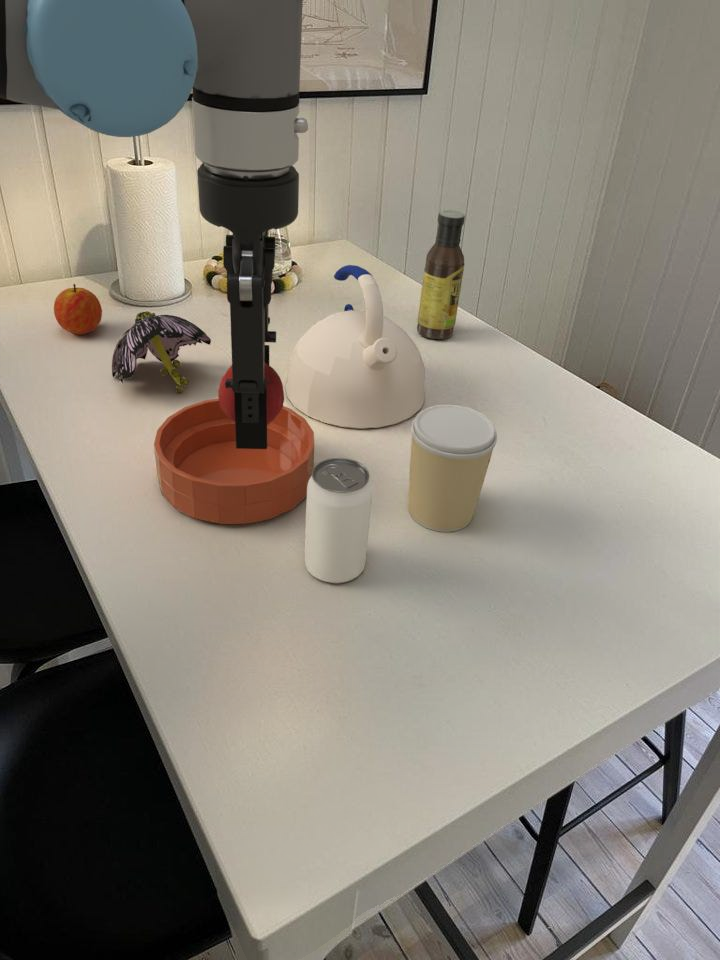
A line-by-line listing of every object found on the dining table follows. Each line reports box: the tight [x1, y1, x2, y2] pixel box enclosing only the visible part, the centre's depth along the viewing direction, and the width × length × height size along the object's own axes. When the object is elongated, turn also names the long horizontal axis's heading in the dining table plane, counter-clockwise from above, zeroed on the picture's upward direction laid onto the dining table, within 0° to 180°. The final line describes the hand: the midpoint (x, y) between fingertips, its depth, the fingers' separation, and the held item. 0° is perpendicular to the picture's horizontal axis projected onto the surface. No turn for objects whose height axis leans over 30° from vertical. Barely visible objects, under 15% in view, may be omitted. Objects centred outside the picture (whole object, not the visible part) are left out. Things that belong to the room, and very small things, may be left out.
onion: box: [218, 363, 285, 424], centre depth 67 cm, size 6×6×8 cm
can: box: [304, 457, 373, 585], centre depth 77 cm, size 6×6×12 cm
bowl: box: [153, 397, 316, 525], centre depth 89 cm, size 18×18×6 cm
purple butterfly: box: [111, 311, 212, 394], centre depth 105 cm, size 14×12×15 cm
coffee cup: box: [407, 404, 498, 533], centre depth 85 cm, size 9×9×12 cm
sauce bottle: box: [416, 209, 466, 340], centre depth 121 cm, size 6×6×20 cm
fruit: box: [53, 283, 103, 336], centre depth 116 cm, size 7×7×8 cm
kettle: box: [284, 264, 426, 430], centre depth 104 cm, size 20×21×18 cm
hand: (253, 425), depth 70 cm, fingers closed on onion, 6 cm apart
